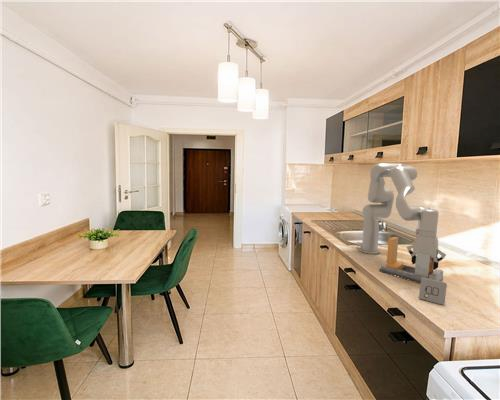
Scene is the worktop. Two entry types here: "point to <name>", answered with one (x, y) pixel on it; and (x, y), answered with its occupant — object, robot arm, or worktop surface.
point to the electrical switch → (433, 290)
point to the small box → (424, 264)
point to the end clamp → (393, 254)
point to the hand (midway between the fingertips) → (424, 266)
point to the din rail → (412, 273)
